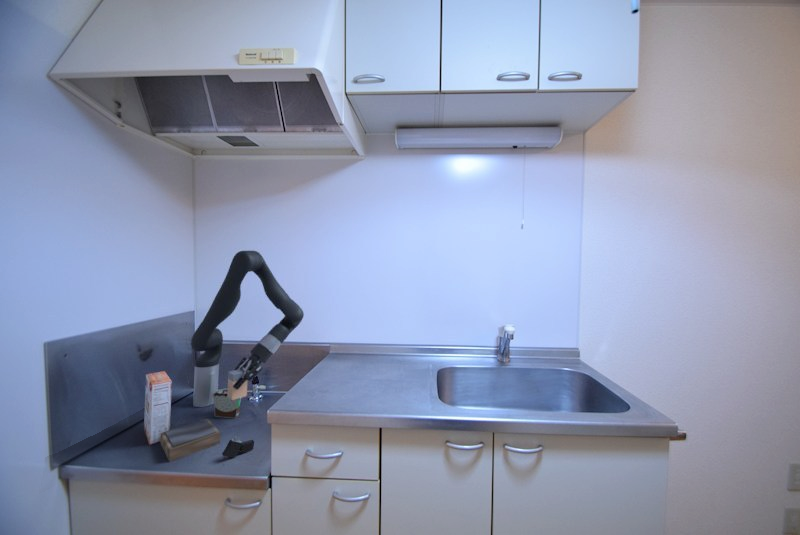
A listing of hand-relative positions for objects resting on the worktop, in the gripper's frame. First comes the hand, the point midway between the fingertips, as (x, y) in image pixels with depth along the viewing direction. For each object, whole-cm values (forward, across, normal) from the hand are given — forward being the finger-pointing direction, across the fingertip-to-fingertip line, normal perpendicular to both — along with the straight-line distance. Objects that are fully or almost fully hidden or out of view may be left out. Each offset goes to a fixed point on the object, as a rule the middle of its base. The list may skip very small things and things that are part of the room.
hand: (232, 385), depth 107 cm
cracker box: (+26, -19, 0) cm, 32 cm away
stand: (+21, -4, +5) cm, 21 cm away
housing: (+2, 0, +4) cm, 5 cm away
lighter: (+14, +14, +11) cm, 23 cm away
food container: (+9, -17, +17) cm, 26 cm away
